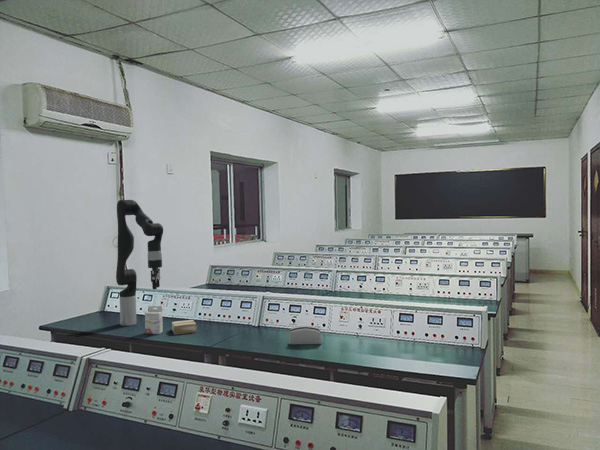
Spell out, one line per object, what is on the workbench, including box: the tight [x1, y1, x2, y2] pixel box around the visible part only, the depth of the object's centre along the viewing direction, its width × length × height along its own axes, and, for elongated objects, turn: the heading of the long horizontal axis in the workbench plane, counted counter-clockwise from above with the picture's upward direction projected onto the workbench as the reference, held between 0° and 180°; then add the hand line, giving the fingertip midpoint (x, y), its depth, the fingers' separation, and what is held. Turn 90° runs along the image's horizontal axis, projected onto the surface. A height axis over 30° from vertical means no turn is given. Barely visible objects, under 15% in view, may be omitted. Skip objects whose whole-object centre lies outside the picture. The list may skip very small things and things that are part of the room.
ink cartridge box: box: [144, 305, 164, 335], centre depth 270 cm, size 9×5×15 cm, turn 84°
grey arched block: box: [288, 325, 323, 345], centre depth 242 cm, size 17×5×10 cm, turn 89°
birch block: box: [171, 319, 197, 336], centre depth 274 cm, size 12×12×5 cm
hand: (156, 288), depth 270 cm, fingers open, 8 cm apart
